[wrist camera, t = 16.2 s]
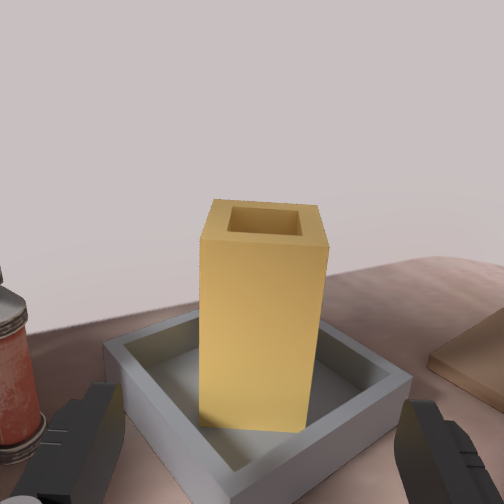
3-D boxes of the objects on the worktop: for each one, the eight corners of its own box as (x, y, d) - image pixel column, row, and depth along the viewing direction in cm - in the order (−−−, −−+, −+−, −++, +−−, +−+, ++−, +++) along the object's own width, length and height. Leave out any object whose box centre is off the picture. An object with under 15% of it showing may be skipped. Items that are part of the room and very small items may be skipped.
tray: (106, 386, 26) (102, 342, 25) (263, 321, 33) (266, 284, 32) (227, 551, 18) (230, 498, 17) (402, 421, 25) (413, 376, 24)
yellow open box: (304, 433, 23) (329, 247, 18) (198, 426, 23) (199, 239, 19) (296, 349, 29) (314, 195, 25) (213, 344, 29) (217, 189, 25)
